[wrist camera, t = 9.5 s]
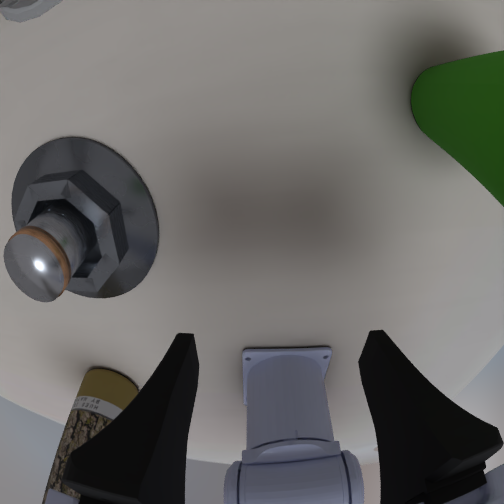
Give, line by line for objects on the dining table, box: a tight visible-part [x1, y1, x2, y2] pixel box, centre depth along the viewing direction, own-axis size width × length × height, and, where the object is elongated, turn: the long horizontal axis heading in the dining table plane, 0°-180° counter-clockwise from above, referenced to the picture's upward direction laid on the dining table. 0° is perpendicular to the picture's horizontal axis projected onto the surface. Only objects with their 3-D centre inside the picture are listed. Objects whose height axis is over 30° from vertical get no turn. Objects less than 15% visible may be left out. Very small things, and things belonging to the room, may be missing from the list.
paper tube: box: [42, 369, 138, 504], centre depth 20 cm, size 7×7×25 cm
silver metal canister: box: [4, 198, 98, 302], centre depth 17 cm, size 5×5×6 cm
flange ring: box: [12, 137, 159, 298], centre depth 19 cm, size 13×13×2 cm
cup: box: [411, 50, 504, 207], centre depth 11 cm, size 9×9×11 cm
